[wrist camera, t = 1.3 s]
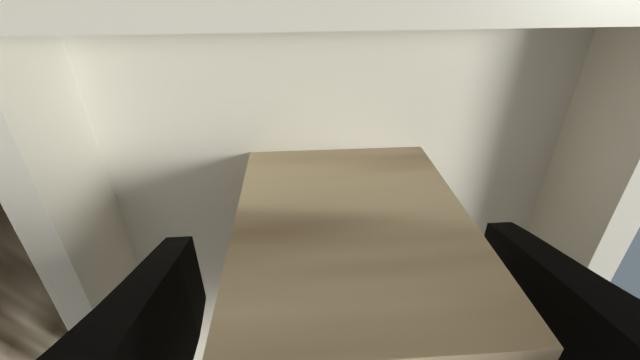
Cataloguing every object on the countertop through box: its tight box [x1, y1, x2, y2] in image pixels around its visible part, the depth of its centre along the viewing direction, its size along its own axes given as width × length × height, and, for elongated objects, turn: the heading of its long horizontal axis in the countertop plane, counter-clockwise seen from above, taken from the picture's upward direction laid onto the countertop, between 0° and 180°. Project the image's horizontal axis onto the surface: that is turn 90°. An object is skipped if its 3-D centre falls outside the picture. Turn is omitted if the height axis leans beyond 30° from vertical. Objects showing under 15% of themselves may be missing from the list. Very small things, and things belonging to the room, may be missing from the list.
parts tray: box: [0, 0, 640, 360], centre depth 12 cm, size 22×14×3 cm, turn 0°
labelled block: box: [202, 147, 564, 360], centre depth 8 cm, size 4×4×6 cm
